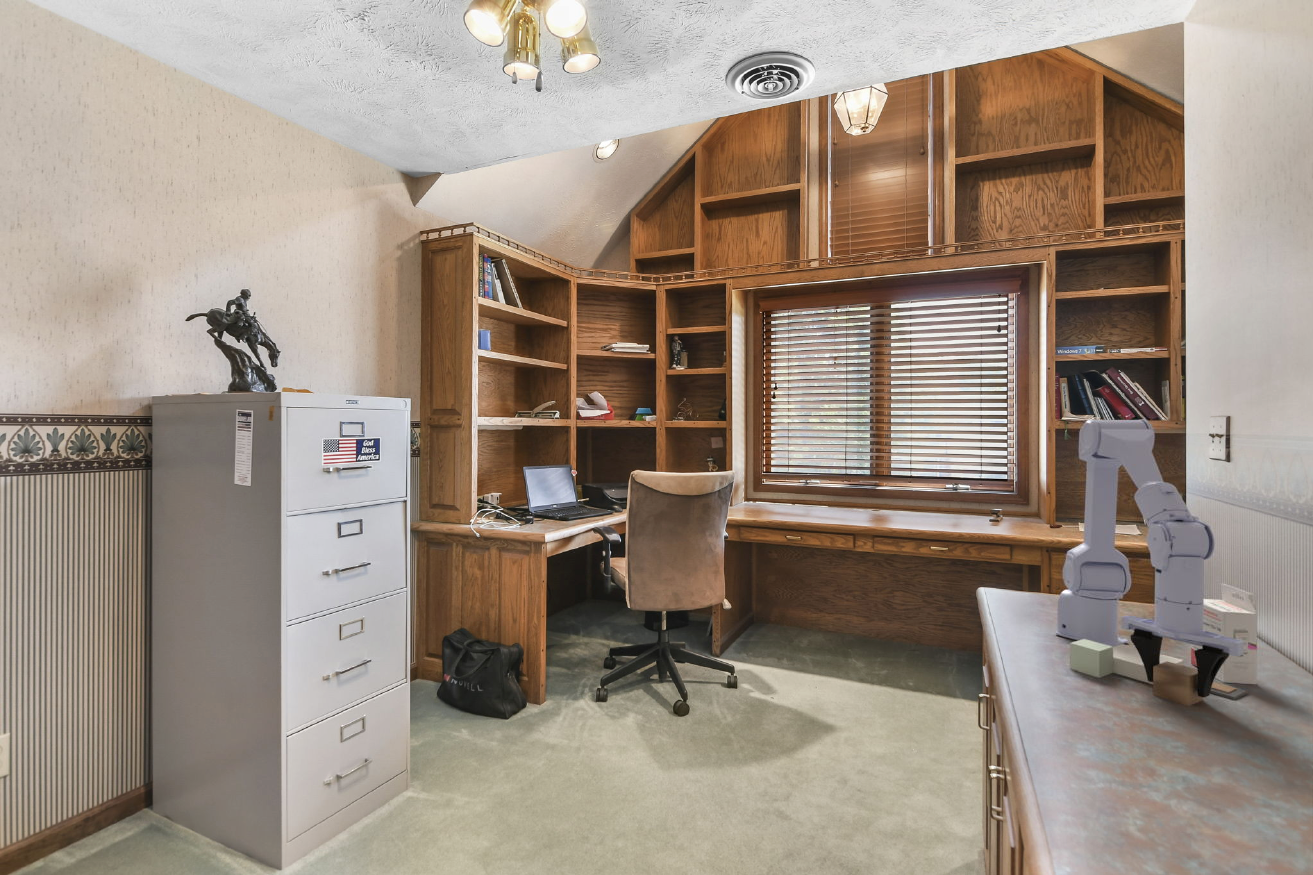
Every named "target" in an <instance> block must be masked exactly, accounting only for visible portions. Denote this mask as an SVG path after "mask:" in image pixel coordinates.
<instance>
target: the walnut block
mask: <svg viewBox="0 0 1313 875" xmlns="http://www.w3.org/2000/svg"><path fill="white" fill-rule="evenodd" d="M1197 683H1198V670H1197V669H1196V668H1194V667H1190V666H1185V665H1184V666H1183V665H1179V664H1175V663H1171V662H1168V661H1167V662H1164V663H1161V664H1158V665H1156V666H1153V684H1152V695H1153V696H1155V695H1156V697H1159V698H1161V699H1165V700H1168V701H1172V702H1173V703H1174V702H1175V703H1178V704H1181V705H1184V704H1185V705H1184V706H1188V707H1191V706H1193V705H1195V704H1197V703H1199V701H1200V702H1202V701H1203V700H1204V698H1203V697H1199V696H1198V693H1197ZM1192 704H1193V705H1192Z"/></svg>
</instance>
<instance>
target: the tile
mask: <svg viewBox="0 0 1313 875" xmlns="http://www.w3.org/2000/svg"><path fill="white" fill-rule="evenodd" d="M1248 693H1249V692H1248V690H1247V689H1244V688H1243V689H1242V688H1239V687H1235V686H1232V685H1228V684H1225V683H1223V682H1217V681H1213V684H1212V687H1211V690H1210V694H1213V695H1216V696H1220V697H1224V698H1227V699H1230V700H1232V701H1233V700H1234V701H1235V700H1236V699H1238V698H1241V697H1242V696H1245V695H1247V694H1248Z"/></svg>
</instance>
